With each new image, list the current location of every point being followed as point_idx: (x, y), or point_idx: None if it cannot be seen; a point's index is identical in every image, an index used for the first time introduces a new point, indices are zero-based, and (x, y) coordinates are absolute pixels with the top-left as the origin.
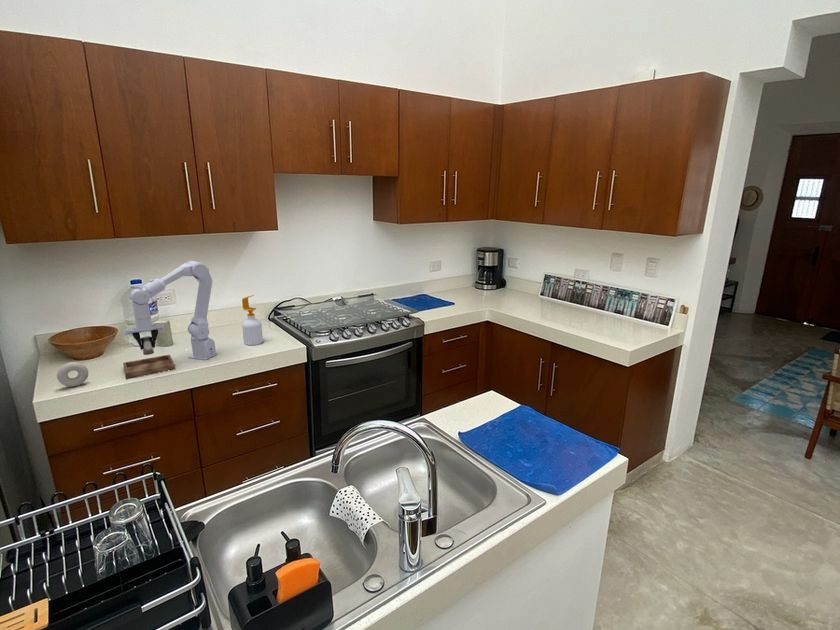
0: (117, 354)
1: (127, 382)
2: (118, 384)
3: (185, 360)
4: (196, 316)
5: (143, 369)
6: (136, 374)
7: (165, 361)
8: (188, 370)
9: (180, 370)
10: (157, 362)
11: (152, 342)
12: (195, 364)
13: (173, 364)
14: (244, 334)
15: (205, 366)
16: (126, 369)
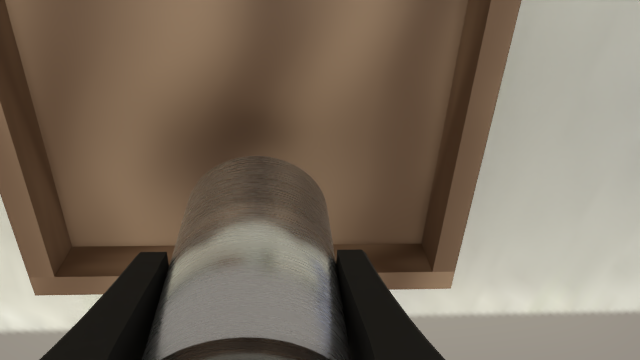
0: None
1: (78, 316)
2: (16, 320)
3: (600, 79)
4: None
5: None
6: None
7: (429, 25)
8: (501, 312)
9: (458, 287)
10: (347, 3)
11: (349, 326)
12: (601, 229)
13: (440, 287)
14: None
15: (624, 301)
16: (24, 205)
